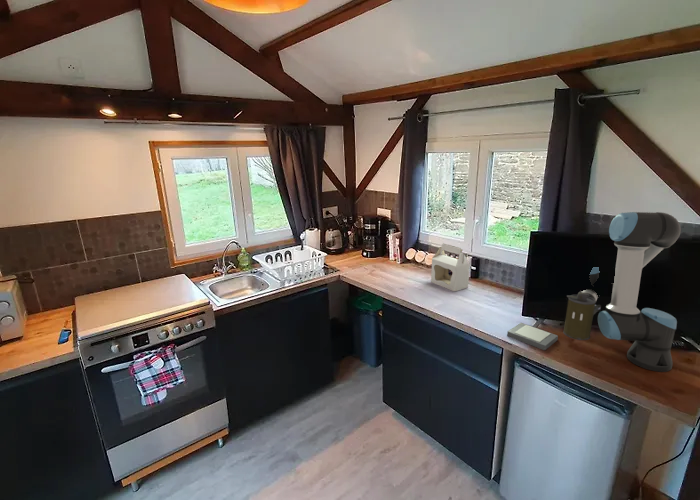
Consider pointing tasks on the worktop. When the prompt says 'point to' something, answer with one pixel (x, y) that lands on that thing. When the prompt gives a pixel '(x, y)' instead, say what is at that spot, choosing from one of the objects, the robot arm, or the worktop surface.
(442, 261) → the gable box
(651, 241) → the robot arm
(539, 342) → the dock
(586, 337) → the canister
